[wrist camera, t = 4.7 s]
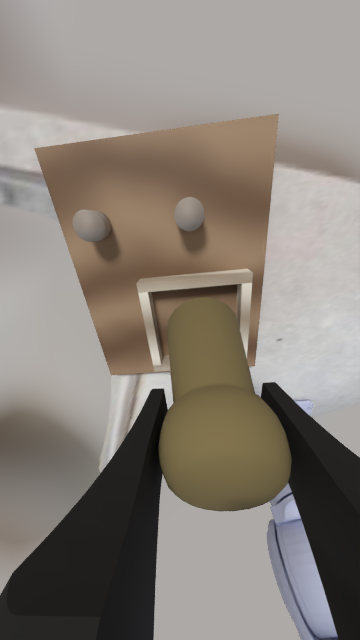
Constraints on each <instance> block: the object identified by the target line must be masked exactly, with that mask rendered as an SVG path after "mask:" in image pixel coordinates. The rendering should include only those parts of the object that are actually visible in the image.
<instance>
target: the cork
mask: <svg viewBox="0 0 360 640" xmlns="http://www.w3.org/2000/svg"><path fill="white" fill-rule="evenodd" d="M167 339H168V349H169V360H170V370H171V381H172V391H173V402H174V404H173V405H172V406H171V407H170V408H169V410H168V411H167V414H166V416H165V419H164V422H163V425H162V429H161V432H160V438H159V446H158V451H159V460H160V466H161V469H162V473H163V475H164V478H165V480H166V482H167V485H168V487H169V489H170V490H171V491H172V492H173V493H174V494H175V495H176V496H178V497H179V498H180V499H181V500H183V501H185V502H187V503H188V504H190V505H192V506H195V507H198V508H202V509H206V510H214V511H237V510H244V509H250V508H253V507H257V506H260V505H263V504H265V503H267V502H269V501H270V500H272V499H274V498H275V497H276V496H277V495H278V494H279V493H280V492H281V491H282V490H283V489H284V488H285V486H286V485H287V483H288V480H289V477H290V472H291V462H292V457H291V453H290V448H289V443H288V440H287V437H286V434H285V431H284V429H283V427H282V425H281V423H280V421H279V418H278V417H277V415H276V414H275V413H274V412H273V410H272V409H271V408H270V407H269V406H268V405H267V404H266V403H265V402H264V401H263V400H262V398H261V397H260V396H258V395H256V394H255V392H254V388H253V383H252V379H251V375H250V371H249V366H248V362H247V358H246V353H245V349H244V345H243V341H242V336H241V332H240V328H239V324H238V321H237V318H236V315H235V313H234V312H233V310H232V309H231V308H230V307H229V306H228V305H227V304H225V303H223V302H221V301H220V300H217V299H212V298H208V297H204V298H194V299H192V300H189V301H187V302H184V303H182V304H181V305H180V306H179V307H177V308H176V309H175V310H174V311H173V313H172V314H171V316H170V318H169V320H168V324H167Z"/></svg>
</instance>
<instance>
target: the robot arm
mask: <svg viewBox="0 0 360 640" xmlns="http://www.w3.org/2000/svg"><path fill="white" fill-rule="evenodd" d="M261 398H262V400H263V401H264V402H265V403H266V404H267V405H268V406H269V407H270V408H271V409H272V410H273V412H274V413H275V414H276V415H277V417H278V418H279V421H280V423H281V425H282V427H283V429H284V431H285V434H286V437H287V440H288V443H289V448H290V453H291V457H292V462H291V472H290V477H289V480H288V483H287V485H286V486H285V488H284V489H283V490H282V491H281V492H280V493H279V494H278V495H277V496H276V497H275V498H274V499H272V500H270V503H271V505H272V506H271V511H272V514H273V517H274V519H273V520H270V521H269V525H268V531H267V544H268V550H269V555H270V559H271V564H272V567H273V571H274V575H275V578H276V581H277V584H278V587H279V590H280V593H281V595H282V598H283V600H284V603H285V605H286V608H287V610H288V612H289V614H290V616H291V618H292V619H293V621H294V623H295V625H296V628H297V630H298V633H299V635H300V638H301V640H360V458H359V457H358V456H357V455H356V454H354V453H353V452H351V451H350V450H349V449H348V448H346V447H345V446H344V445H343V444H342V443H340V442H339V441H338V440H337V439H336V438H334V437H333V436H332V435H331V434H330V433H328V432H327V431H326V430H325V429H324V428H323V427H321V425H319V424H318V423H317V422H316V421H315V420H314V419H313V418H312V417H311V416H310V414H311V411H312V408H313V403H312V401H310V400H306V401H294V400H293V399H292V398H291V397H290V396H289V395H288V394H287V393H285V392H284V391H283V390H282V389H281V388H280V387H279V386H278V385H277V384H276V383H275V382H271V383H263V386H262V393H261ZM167 411H168V409H167V404H166V398H165V393H164V389H152V390H151V392H150V394H149V396H148V398H147V400H146V402H145V404H144V406H143V408H142V410H141V412H140V414H139V416H138V417H137V419H136V421H135V423H134V424H133V426H132V428H131V430H130V431H129V433H128V434H127V436H126V438H125V439H124V441H123V442H122V444H121V445H120V447H119V449H118V450H117V451H116V453H115V454H114V456H113V457H112V459H111V460H110V461H109V463H108V464H107V466H106V467H105V468H104V470H103V471H102V472H101V474H100V475H99V476H98V478H97V479H96V480H95V482H94V483H93V484H92V485H91V487H90V488H89V489H88V490H87V492H86V493H85V494H84V495H83V496H82V498H81V499H80V500H79V501H78V503H77V504H76V505H75V506H74V507H73V508H72V509H71V511H70V512H69V513H68V514H67V515H66V516H65V517H64V519H63V520H62V521H61V522H60V523H59V524H58V525H57V527H56V528H55V529H54V530H53V531H52V532H51V533H50V534H49V535H48V537H46V538H45V540H44V541H43V542H42V543H41V544H40V545H39V546H38V547H37V548H36V549H35V550H34V551H33V552H32V553H31V554H30V555H29V557H27V558H26V559H25V561H24V562H23V563H22V564H21V565H20V566H19V567H18V568H17V569H16V570H15V571H14V572H13V573H12V575H11V577H10V579H9V581H8V583H7V584H6V586H5V588H4V589H3V591H2V593H1V595H0V640H153V635H154V634H153V633H154V605H155V578H156V554H157V536H158V534H157V533H158V517H159V500H160V489H161V480H162V474H163V473H162V469H161V466H160V460H159V451H158V446H159V438H160V432H161V429H162V425H163V422H164V419H165V416H166V414H167Z"/></svg>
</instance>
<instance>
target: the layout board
mask: <svg viewBox="0 0 360 640" xmlns="http://www.w3.org/2000/svg"><path fill="white" fill-rule="evenodd" d="M278 116H279V115H278V114H274V115H267V116H260V117H253V118H247V119H239V120H232V121H226V122H218V123H211V124H204V125H197V126H190V127H183V128H176V129H169V130H161V131H155V132H147V133H140V134H133V135H126V136H119V137H112V138H105V139H98V140H91V141H84V142H77V143H70V144H63V145H56V146H49V147H41V148H34V149H35V152H36V154H37V157H38V160H39V163H40V166H41V169H42V172H43V175H44V178H45V181H46V184H47V187H48V190H49V193H50V196H51V199H52V202H53V205H54V208H55V211H56V214H57V216H58V219H59V222H60V225H61V228H62V231H63V234H64V237H65V240H66V243H67V246H68V249H69V252H70V255H71V258H72V261H73V264H74V266H75V269H76V272H77V275H78V278H79V281H80V284H81V287H82V290H83V293H84V296H85V299H86V302H87V305H88V308H89V311H90V314H91V317H92V320H93V322H94V326H95V329H96V332H97V335H98V338H99V341H100V343H101V346H102V349H103V352H104V355H105V358H106V361H107V364H108V367H109V370H110V373H111V375H122V374H137V373H153V372H169V371H171V370H170V360H169V349H168V339H167V324H168V320H169V318H170V316H171V314H172V313H173V311H174V310H175V309H176V308H177V307H179V306H180V305H181V304H182V303H184V302H187V301H189V300H192V299H194V298H204V297H208V298H212V299H217V300H220V301H221V302H223V303H225V304H227V305H228V306H229V307H230V308H231V309H232V310H233V312H234V313H235V315H236V318H237V321H238V324H239V328H240V332H241V336H242V341H243V345H244V349H245V353H246V358H247V362H248V366H255V359H256V348H257V338H258V327H259V317H260V306H261V295H262V285H263V274H264V264H265V253H266V243H267V232H268V221H269V211H270V200H271V190H272V179H273V169H274V158H275V147H276V137H277V125H278Z"/></svg>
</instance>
